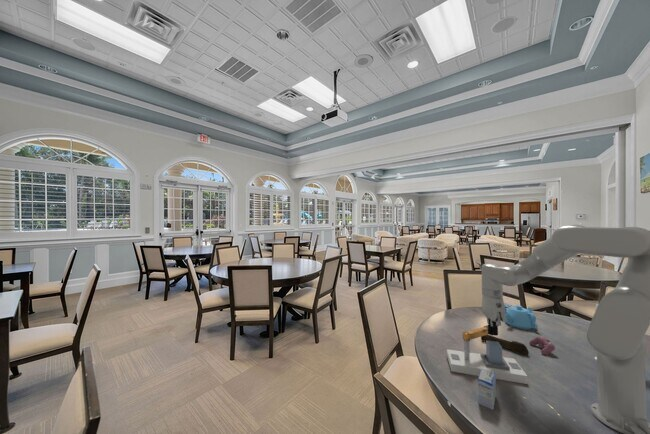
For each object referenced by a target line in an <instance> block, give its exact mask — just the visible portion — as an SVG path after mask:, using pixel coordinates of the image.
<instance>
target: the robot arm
mask: <svg viewBox="0 0 650 434" xmlns="http://www.w3.org/2000/svg"><path fill="white" fill-rule="evenodd" d="M579 254H584V255H595V256H603V257H613V258H627V262H626V265H625V267H624V268H623V271H622V273H621V276H620V278H619V281H618V283H617V284H616V286H615V287H614V289H612V290H611V291H609V292H608V293H606V294H604V296H602V297H601V299H600V301H599V303H598V304H599V305H598V307H597V309H596V308H595V310H596V311H595V312H594V314H593V316H592V318H591V321H590V323H589V326H588V327H587V330H586V339H587V342H588V344H589V345H590V347H591V348H592V349H594V351H595V352H596V357H597V360H596V379H597V380H596V383H597V384H596V386H597V389H596V390H597V402H594V403H592V404H591V405H590V411H591V413H592V414H593V416H594V417H595V418H596V419H598V421H600V422H601V423H602V424H604V425H605V426H607V427H609V428H611V429H613V430H614V431H617V432H619V433H621V434H650V422H649V420H648V418H647V417H648V414H647V412H648V411H647V386H646V384H647V383H646V382H647V381H646V378H647V377H646V376H647V375H646V357H647V356H646V355H647V338H646V333H647V331H648V329H649V327H650V230H649V229H646V228H642V227H637V226H625V227H605V226H602V227H601V226H600V227H599V226H585V225H580V224H571V225H570V224H569V225H563V226H560V227H558V228H556V229H555V230H554V231H553V233H552V234H551V236H550V237H549V238H547V239H546V240H544V241H543V242H541V243H540V244H538V245H536V246H535V247H534V248H532V253H531V254H530V255H529V256H528V257H526V258H524V259H523V260H521V261H519V262H518V263H516V264H515V265H510V266H509V265H508V266H504V267H503V266H501V265H500V264H497V263H483V264H482V265H481V296H482V301H481V302H482V303H481V306H482V307H481V308H482V309H481V310H482V311H481V312H482V314H483V315H484V316H485V318H486V321H487V323H486V324H487V325H488V333H489V334H490V335H491V336H495V337H497V336H498V335H499V327H500V326H502V323H506V317H505V306H504V304H505V302H504V291H503V289H504V288H503V285H504V286H507V287H514V286H518V285H522V284H525V283H527V282H529V281H531V280H533V279H535V278H536V277H539V276H540V275H542V274H543V273H545V272H547V271H549V270H551V269H553V268H555V267H556V266H558V265H561V264H562V263H564V262H566V261H567V260H569V259H571V258H573V257H575V256H577V255H579ZM489 334H488V335H489Z"/></svg>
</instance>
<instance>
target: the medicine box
mask: <svg viewBox="0 0 650 434" xmlns="http://www.w3.org/2000/svg"><path fill="white" fill-rule="evenodd" d="M496 380H497V379H496V374H495V373H494V372H492V371H489V370H486V369H483V368H481V371H480V374H479V376H478V379H477V386H478V387H477V398H478V401H477V402H478V405H481V406H483V407H485V408H488V409H489V410H492V411H494V409H495V402H496V393H497V391H496V390H497V388H496V386H497V384H496V383H497V381H496Z"/></svg>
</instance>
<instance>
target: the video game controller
mask: <svg viewBox="0 0 650 434" xmlns="http://www.w3.org/2000/svg"><path fill="white" fill-rule="evenodd" d="M528 343H529V345H530V346H537V345H538V348H539V349H541V351H540V353H541V355H543V356H545V355H549V354H551V353H552V352H554V351H555V349H556V346H555V344H554V343H553V342H552V340H550V339H549V338H547V337H544V336H540V335H538V336H536V337H535V338H533V339H531V340H530V341H529V342H528Z"/></svg>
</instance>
